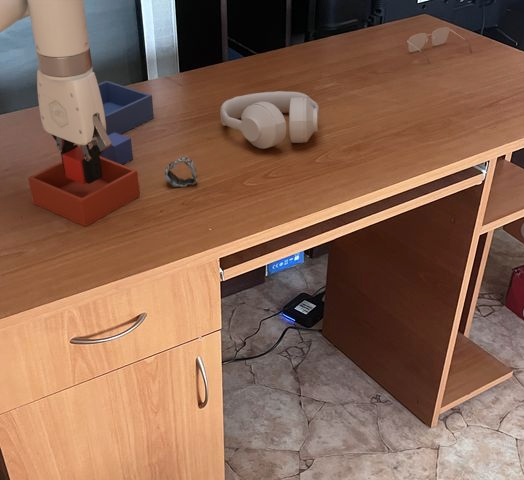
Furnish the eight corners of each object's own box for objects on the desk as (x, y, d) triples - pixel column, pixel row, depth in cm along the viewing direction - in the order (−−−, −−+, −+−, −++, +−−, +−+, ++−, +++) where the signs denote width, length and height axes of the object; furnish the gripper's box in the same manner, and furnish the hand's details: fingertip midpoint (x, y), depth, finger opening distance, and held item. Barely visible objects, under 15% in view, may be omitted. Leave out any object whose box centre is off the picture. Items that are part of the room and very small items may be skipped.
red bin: (33, 203, 127) (27, 177, 124) (88, 174, 135) (84, 149, 132) (85, 226, 122) (81, 200, 119) (140, 195, 129) (137, 170, 126)
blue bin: (63, 123, 151) (59, 100, 148) (109, 102, 158) (106, 80, 155) (109, 140, 145) (106, 116, 142) (154, 118, 153) (151, 95, 150)
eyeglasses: (448, 42, 186) (451, 25, 183) (472, 54, 182) (476, 37, 179) (404, 53, 180) (407, 36, 177) (428, 67, 176) (431, 49, 173)
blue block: (100, 161, 139) (98, 140, 136) (117, 153, 141) (114, 132, 139) (117, 167, 137) (114, 146, 134) (133, 159, 139) (130, 138, 137)
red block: (65, 177, 125) (61, 154, 123) (84, 168, 128) (80, 145, 125) (83, 184, 124) (79, 161, 121) (101, 175, 126) (98, 152, 124)
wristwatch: (183, 187, 135) (162, 167, 132) (204, 170, 132) (183, 150, 129) (181, 197, 132) (159, 178, 130) (202, 181, 130) (180, 161, 127)
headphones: (338, 144, 143) (299, 116, 159) (339, 101, 138) (298, 76, 154) (242, 159, 138) (211, 128, 154) (239, 114, 134) (208, 87, 150)
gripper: (6, 56, 115) (30, 170, 127) (86, 82, 108) (103, 200, 120) (45, 42, 120) (65, 153, 132) (125, 66, 112) (138, 181, 124)
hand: (83, 174), depth 126 cm, fingers closed on red block, 4 cm apart
